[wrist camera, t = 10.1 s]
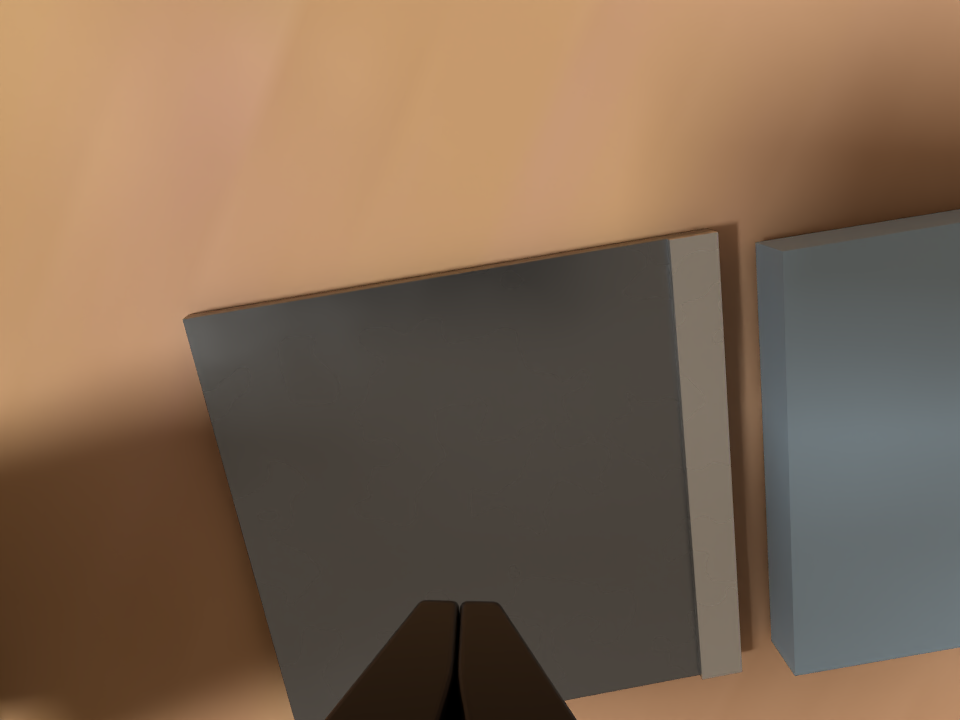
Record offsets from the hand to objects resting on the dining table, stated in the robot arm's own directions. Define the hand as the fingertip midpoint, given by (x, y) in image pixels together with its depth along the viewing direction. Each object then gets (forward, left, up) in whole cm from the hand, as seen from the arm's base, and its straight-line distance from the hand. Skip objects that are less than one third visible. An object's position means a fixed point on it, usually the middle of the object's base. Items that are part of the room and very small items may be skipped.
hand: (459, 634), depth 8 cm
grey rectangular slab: (+8, -5, -11) cm, 14 cm away
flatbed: (+1, -5, -12) cm, 12 cm away
